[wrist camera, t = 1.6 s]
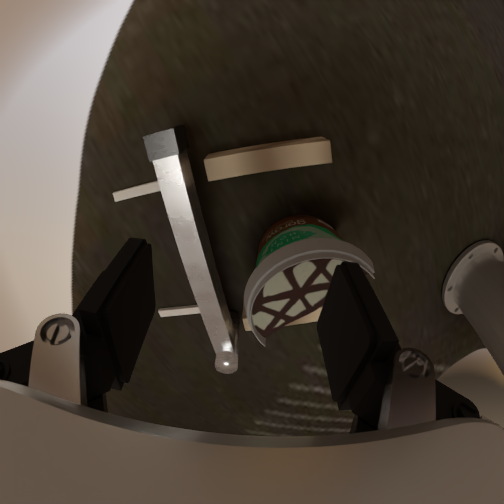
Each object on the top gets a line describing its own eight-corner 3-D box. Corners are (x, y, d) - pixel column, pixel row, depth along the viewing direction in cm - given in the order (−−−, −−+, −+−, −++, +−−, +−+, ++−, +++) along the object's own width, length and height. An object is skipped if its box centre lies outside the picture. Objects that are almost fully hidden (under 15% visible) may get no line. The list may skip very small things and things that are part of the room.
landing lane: (182, 174, 28) (181, 175, 27) (220, 308, 36) (219, 310, 35) (114, 191, 28) (112, 193, 28) (161, 314, 36) (160, 316, 36)
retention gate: (192, 121, 25) (169, 129, 18) (241, 323, 37) (239, 372, 30) (168, 127, 25) (137, 138, 18) (223, 325, 37) (218, 374, 30)
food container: (314, 179, 28) (342, 218, 19) (346, 223, 30) (380, 274, 21) (222, 249, 32) (211, 309, 23) (258, 285, 34) (259, 349, 25)
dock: (322, 136, 26) (329, 140, 23) (332, 301, 35) (337, 317, 33) (208, 153, 27) (203, 160, 24) (246, 314, 36) (245, 330, 34)
